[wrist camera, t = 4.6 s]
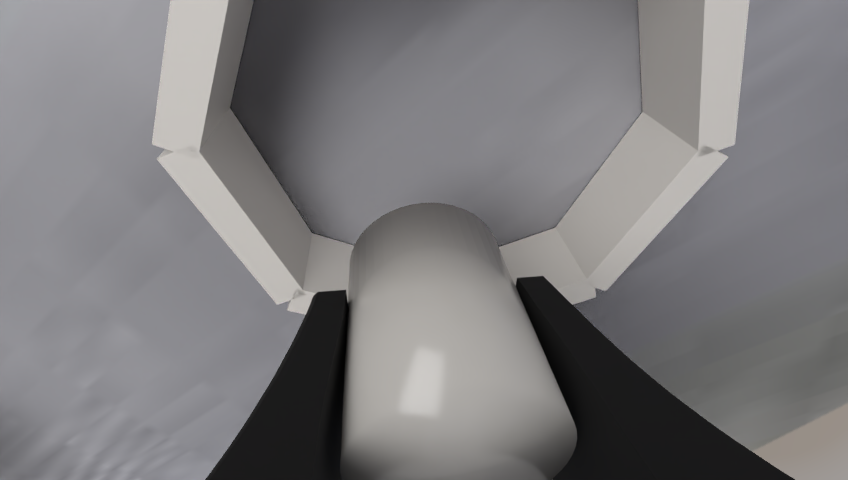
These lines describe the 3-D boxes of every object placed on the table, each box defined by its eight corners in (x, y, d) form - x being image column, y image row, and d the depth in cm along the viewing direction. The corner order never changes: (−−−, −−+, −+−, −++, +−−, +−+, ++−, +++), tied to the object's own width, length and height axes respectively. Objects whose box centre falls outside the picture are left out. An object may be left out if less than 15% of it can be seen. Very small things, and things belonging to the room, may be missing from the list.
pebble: (503, 195, 10) (597, 371, 6) (495, 313, 12) (560, 501, 8) (338, 210, 10) (319, 405, 6) (359, 328, 12) (357, 530, 8)
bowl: (775, -18, 12) (873, -2, 10) (514, 312, 19) (536, 367, 17) (279, -399, 8) (241, -540, 5) (171, 216, 15) (134, 275, 12)
